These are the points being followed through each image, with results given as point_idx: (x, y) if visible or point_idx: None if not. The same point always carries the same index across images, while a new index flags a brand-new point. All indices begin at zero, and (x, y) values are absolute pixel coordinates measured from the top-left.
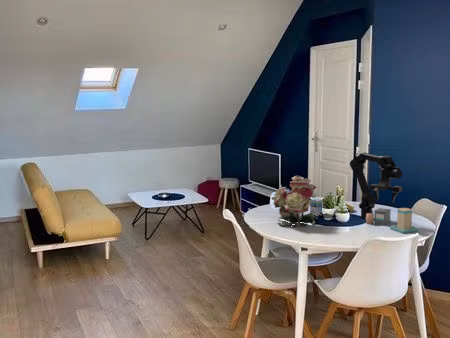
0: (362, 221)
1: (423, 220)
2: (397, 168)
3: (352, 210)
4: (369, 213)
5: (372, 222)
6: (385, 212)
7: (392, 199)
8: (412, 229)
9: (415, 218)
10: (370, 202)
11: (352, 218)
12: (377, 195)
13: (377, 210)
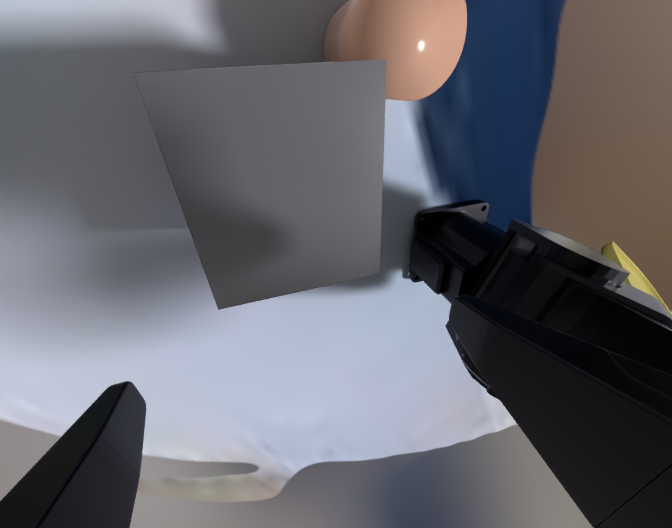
0: (444, 94)
1: None
2: None
3: None
4: (430, 70)
5: (331, 28)
6: (151, 74)
7: (49, 473)
8: None
9: (168, 426)
10: (523, 294)
11: (531, 146)
12: (566, 397)
13: (342, 111)
